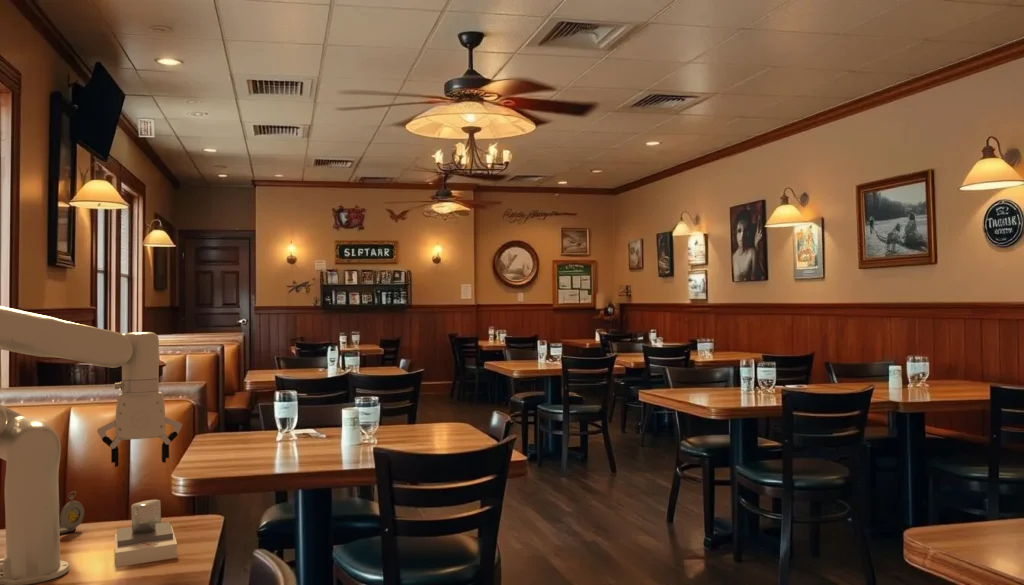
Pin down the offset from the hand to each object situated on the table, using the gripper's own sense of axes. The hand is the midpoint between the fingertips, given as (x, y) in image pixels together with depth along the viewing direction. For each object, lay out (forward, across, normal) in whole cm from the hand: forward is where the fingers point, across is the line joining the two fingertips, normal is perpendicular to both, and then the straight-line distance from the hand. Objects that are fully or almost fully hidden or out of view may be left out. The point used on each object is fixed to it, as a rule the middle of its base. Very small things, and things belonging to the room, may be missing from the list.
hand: (140, 463), depth 181 cm
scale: (+19, +1, -2) cm, 20 cm away
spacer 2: (+19, +3, +21) cm, 29 cm away
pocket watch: (+20, -16, +27) cm, 37 cm away
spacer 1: (+15, +1, 0) cm, 15 cm away
